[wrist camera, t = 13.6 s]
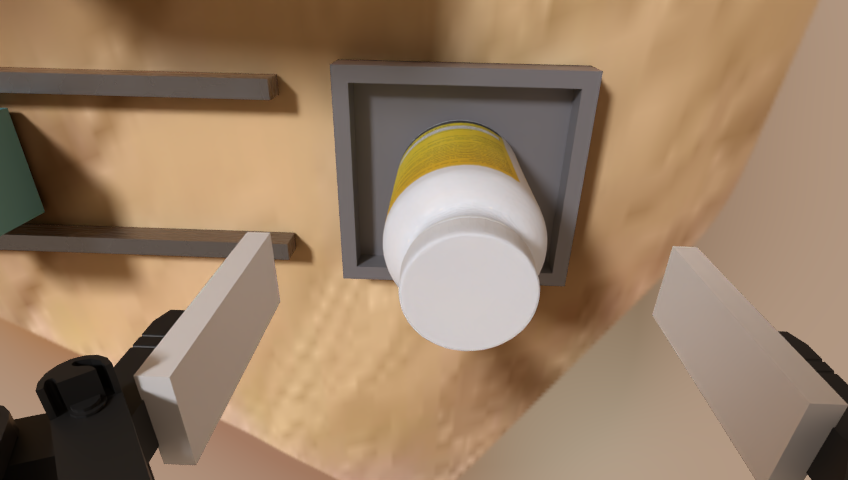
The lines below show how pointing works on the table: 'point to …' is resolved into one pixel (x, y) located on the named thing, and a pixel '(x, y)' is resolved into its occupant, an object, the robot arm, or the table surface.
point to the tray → (459, 100)
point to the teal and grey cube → (15, 180)
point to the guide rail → (144, 86)
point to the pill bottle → (464, 238)
